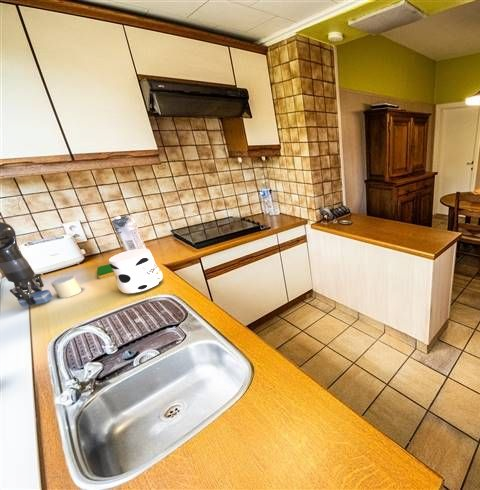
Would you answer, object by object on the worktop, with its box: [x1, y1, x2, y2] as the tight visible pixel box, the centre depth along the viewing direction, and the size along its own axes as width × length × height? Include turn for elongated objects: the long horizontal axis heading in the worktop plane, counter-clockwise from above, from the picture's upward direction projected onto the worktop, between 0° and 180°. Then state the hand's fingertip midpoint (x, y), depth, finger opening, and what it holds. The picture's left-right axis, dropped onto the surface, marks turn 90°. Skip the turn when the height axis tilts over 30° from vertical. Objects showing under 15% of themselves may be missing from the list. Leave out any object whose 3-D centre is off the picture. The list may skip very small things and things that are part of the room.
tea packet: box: [16, 289, 53, 308], centre depth 120 cm, size 8×5×4 cm, turn 112°
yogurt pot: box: [50, 275, 82, 299], centre depth 128 cm, size 8×8×8 cm
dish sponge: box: [96, 263, 115, 280], centre depth 148 cm, size 7×14×2 cm, turn 44°
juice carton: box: [111, 215, 147, 252], centre depth 162 cm, size 9×10×27 cm
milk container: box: [108, 247, 164, 295], centre depth 128 cm, size 17×17×18 cm
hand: (37, 300), depth 121 cm, fingers closed on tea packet, 5 cm apart
